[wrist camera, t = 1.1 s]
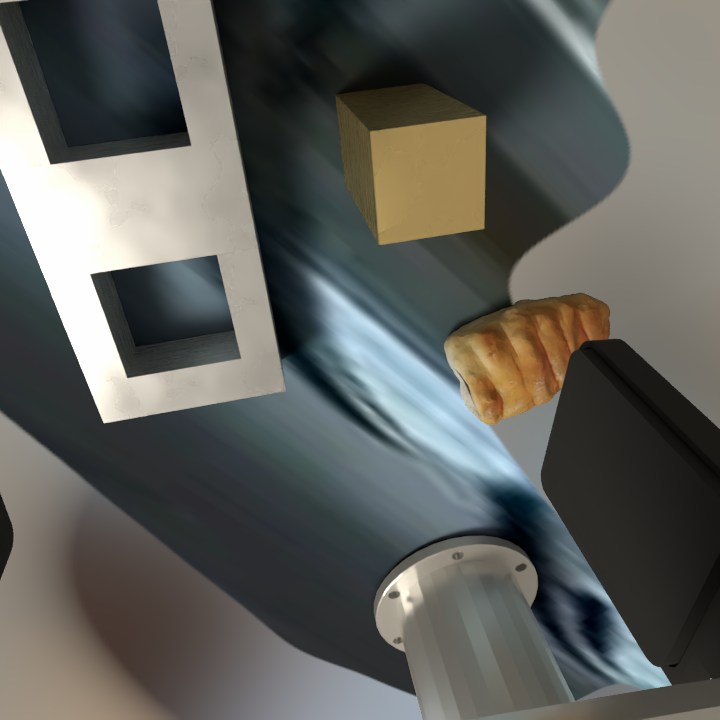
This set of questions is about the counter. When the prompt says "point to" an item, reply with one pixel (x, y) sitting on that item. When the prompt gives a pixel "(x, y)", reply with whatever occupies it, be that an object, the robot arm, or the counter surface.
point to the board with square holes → (142, 224)
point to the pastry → (522, 352)
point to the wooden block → (413, 161)
